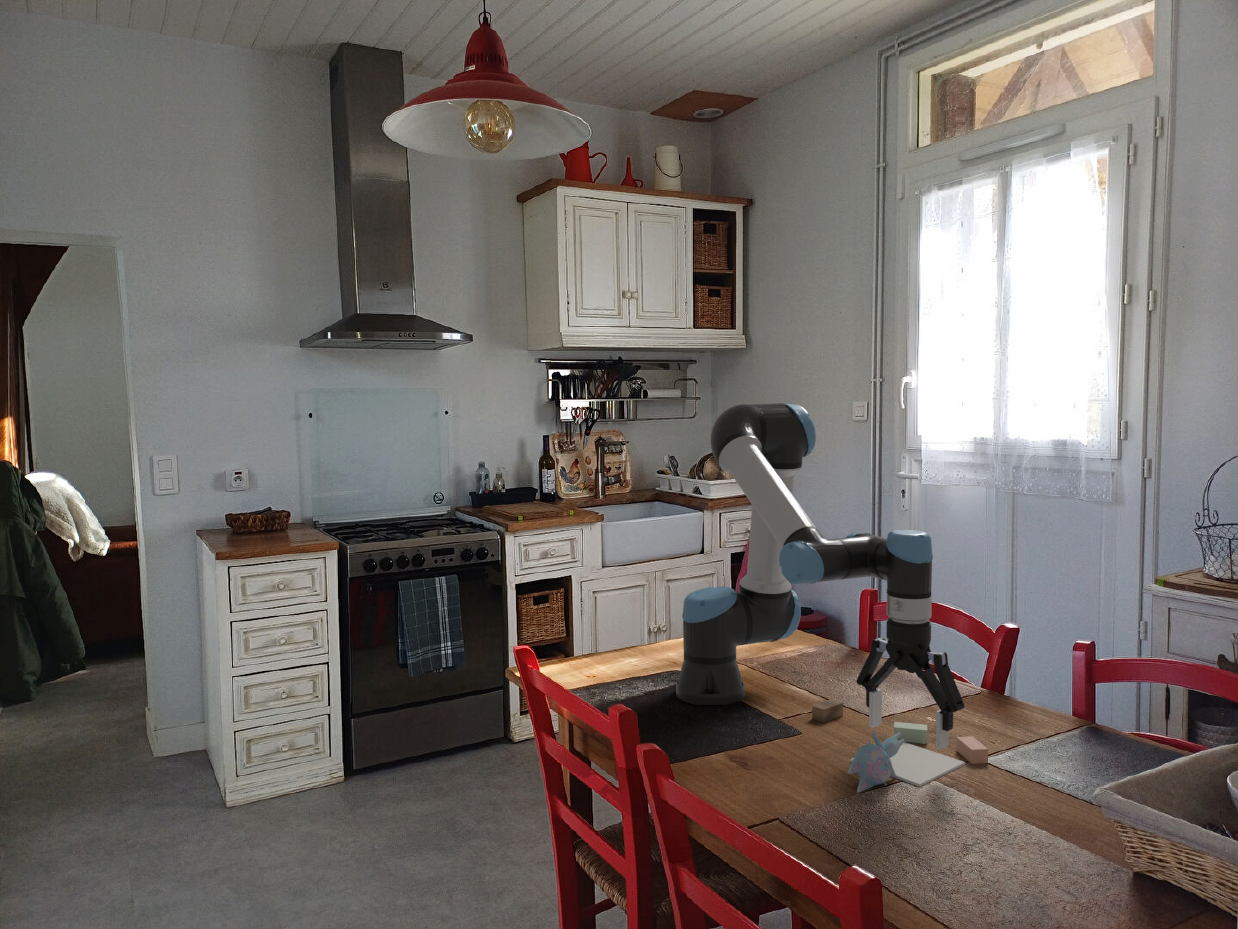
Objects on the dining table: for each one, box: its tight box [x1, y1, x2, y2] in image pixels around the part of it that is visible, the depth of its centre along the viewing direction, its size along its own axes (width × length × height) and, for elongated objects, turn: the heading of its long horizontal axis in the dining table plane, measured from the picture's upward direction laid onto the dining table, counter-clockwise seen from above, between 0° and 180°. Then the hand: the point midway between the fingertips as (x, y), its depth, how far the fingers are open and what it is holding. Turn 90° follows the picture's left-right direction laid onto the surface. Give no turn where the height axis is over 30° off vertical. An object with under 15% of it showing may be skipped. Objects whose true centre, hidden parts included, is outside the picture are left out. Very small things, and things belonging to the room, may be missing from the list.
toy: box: [847, 730, 905, 794], centre depth 153 cm, size 7×6×15 cm
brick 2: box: [893, 721, 928, 745], centre depth 171 cm, size 6×3×3 cm, turn 72°
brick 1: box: [811, 698, 844, 724], centre depth 184 cm, size 6×3×3 cm, turn 128°
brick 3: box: [955, 735, 989, 765], centre depth 162 cm, size 6×3×3 cm, turn 5°
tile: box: [850, 740, 966, 787], centre depth 160 cm, size 14×14×1 cm
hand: (907, 736), depth 160 cm, fingers open, 13 cm apart
